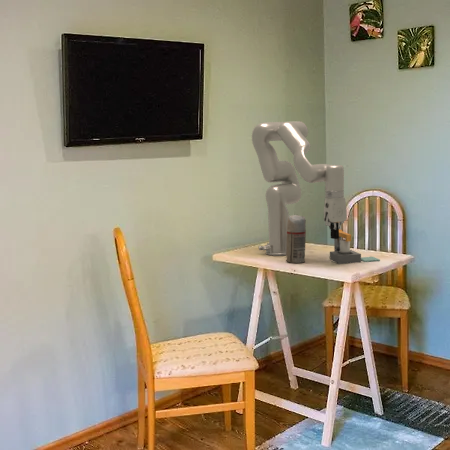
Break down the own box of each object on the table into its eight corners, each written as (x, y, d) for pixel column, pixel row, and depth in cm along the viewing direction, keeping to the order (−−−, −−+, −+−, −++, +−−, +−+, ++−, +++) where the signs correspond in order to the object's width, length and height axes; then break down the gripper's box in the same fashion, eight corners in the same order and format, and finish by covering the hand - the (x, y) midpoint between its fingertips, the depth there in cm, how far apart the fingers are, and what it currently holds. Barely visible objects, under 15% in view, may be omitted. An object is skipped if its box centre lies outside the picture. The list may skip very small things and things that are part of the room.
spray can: (304, 259, 290) (304, 214, 287) (307, 263, 282) (306, 216, 279) (285, 260, 290) (284, 214, 287) (287, 263, 282) (286, 217, 279)
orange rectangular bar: (332, 236, 292) (332, 229, 292) (339, 236, 293) (339, 229, 293) (344, 241, 279) (344, 234, 278) (352, 241, 280) (352, 233, 279)
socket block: (338, 264, 279) (338, 255, 278) (329, 259, 288) (329, 251, 288) (361, 262, 281) (361, 254, 280) (351, 257, 290) (351, 250, 290)
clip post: (334, 258, 289) (334, 237, 288) (330, 256, 294) (330, 235, 293) (345, 258, 290) (345, 236, 289) (340, 256, 295) (340, 234, 294)
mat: (364, 262, 281) (364, 260, 281) (357, 259, 287) (357, 257, 287) (380, 261, 282) (380, 259, 282) (372, 257, 289) (372, 256, 289)
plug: (341, 262, 281) (341, 241, 280) (337, 260, 286) (336, 239, 285) (353, 261, 283) (353, 240, 281) (348, 259, 288) (348, 238, 286)
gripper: (329, 197, 268) (330, 241, 271) (353, 193, 278) (353, 237, 281) (315, 195, 274) (316, 239, 277) (339, 192, 284) (339, 235, 286)
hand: (334, 238), depth 279 cm, fingers closed
